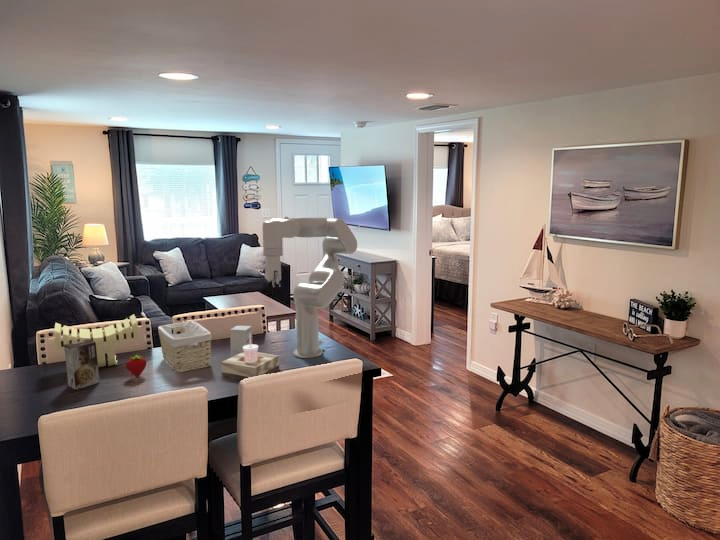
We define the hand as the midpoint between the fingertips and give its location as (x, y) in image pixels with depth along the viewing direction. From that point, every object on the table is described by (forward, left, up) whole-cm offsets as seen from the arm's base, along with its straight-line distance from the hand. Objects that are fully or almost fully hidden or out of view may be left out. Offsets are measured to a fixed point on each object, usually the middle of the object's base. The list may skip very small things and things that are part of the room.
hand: (274, 294), depth 212 cm
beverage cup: (+9, -6, -29) cm, 31 cm away
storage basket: (+11, -38, -31) cm, 50 cm away
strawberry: (+32, -43, -31) cm, 62 cm away
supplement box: (-6, -22, -31) cm, 38 cm away
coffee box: (+46, -55, -31) cm, 78 cm away
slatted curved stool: (+27, -70, -31) cm, 81 cm away
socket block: (+9, -6, -30) cm, 32 cm away
